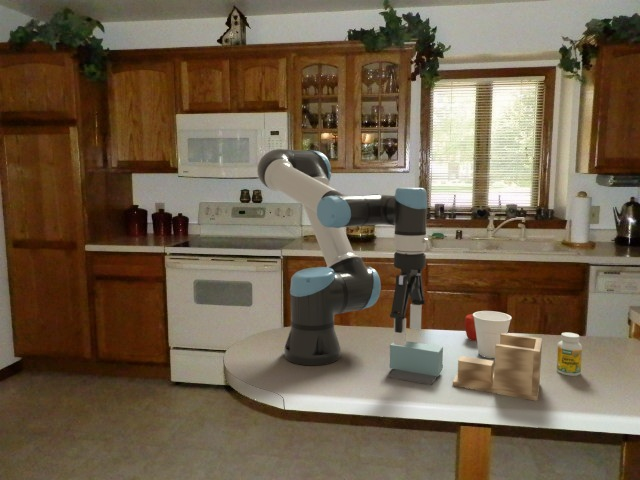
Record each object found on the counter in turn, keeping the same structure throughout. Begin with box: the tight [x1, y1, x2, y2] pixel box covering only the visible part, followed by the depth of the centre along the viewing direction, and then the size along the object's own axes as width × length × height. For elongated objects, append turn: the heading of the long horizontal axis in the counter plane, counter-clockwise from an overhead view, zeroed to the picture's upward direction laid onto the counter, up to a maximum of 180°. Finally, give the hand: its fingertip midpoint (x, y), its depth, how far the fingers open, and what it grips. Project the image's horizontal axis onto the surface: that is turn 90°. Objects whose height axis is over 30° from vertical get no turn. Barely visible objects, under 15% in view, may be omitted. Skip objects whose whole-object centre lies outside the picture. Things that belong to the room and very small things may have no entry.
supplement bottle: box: [556, 332, 583, 377], centre depth 123 cm, size 5×5×10 cm
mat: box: [389, 364, 444, 386], centre depth 123 cm, size 10×12×1 cm
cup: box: [472, 310, 512, 359], centre depth 135 cm, size 10×10×11 cm
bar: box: [389, 340, 444, 377], centre depth 123 cm, size 12×4×6 cm, turn 64°
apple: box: [464, 313, 477, 342], centre depth 148 cm, size 6×6×8 cm
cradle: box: [452, 333, 543, 402], centre depth 115 cm, size 18×10×11 cm, turn 64°
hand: (407, 336), depth 123 cm, fingers open, 13 cm apart
